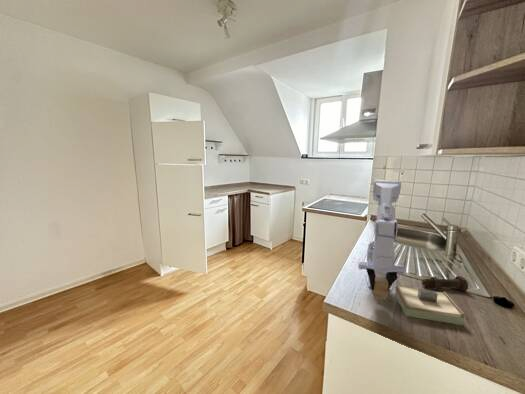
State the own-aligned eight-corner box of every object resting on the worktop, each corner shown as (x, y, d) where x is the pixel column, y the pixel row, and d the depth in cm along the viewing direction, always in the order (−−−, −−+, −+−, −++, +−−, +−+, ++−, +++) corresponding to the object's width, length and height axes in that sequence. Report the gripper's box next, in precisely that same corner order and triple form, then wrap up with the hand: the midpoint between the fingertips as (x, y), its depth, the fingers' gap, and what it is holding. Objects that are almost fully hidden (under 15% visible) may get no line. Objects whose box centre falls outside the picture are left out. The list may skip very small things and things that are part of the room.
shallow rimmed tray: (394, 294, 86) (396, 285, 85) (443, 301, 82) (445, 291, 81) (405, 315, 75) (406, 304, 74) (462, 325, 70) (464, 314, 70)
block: (371, 289, 82) (372, 274, 80) (383, 290, 81) (384, 275, 79) (373, 297, 77) (375, 281, 76) (386, 299, 76) (388, 283, 75)
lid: (398, 288, 85) (399, 279, 85) (442, 295, 81) (443, 285, 81) (409, 309, 74) (410, 298, 73) (460, 317, 70) (462, 306, 69)
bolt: (421, 290, 92) (460, 291, 91) (428, 290, 87) (470, 291, 86) (418, 275, 94) (456, 275, 93) (425, 275, 89) (465, 276, 88)
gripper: (361, 256, 74) (358, 292, 77) (411, 261, 70) (406, 300, 73) (358, 247, 81) (355, 282, 83) (403, 252, 77) (399, 288, 79)
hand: (379, 289), depth 78 cm, fingers closed on block, 4 cm apart
